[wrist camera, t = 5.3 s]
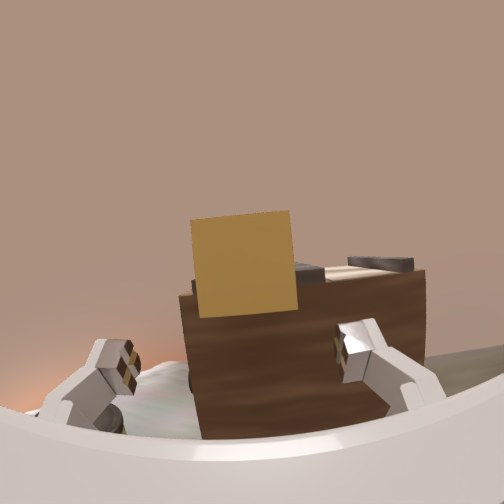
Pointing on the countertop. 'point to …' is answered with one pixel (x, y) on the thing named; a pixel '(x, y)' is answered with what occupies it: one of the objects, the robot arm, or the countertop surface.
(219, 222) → the lever bar
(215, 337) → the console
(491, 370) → the countertop surface
